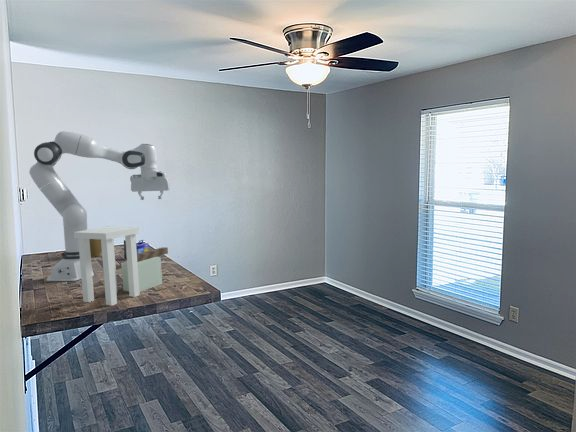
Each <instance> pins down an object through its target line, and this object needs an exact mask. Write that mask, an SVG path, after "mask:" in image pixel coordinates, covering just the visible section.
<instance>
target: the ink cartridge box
mask: <svg viewBox="0 0 576 432" xmlns="http://www.w3.org/2000/svg"><path fill="white" fill-rule="evenodd" d="M149 249H150V247H149V242H144V239H142V240H138V243H136V250H137V254H139V253H143V252H147V251H150V250H149Z"/></svg>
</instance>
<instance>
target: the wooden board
mask: <svg viewBox="0 0 576 432" xmlns="http://www.w3.org/2000/svg"><path fill="white" fill-rule="evenodd" d="M167 254H169V250H168V247H163V246H162V247H159V248H155V249H151V250H149V251H147V252H143V253H139V254H137V262H140V261H143V260H147V259H150V258H154V257H161V256H163V255H164V256H165V255H167Z"/></svg>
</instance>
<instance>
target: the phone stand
mask: <svg viewBox="0 0 576 432" xmlns="http://www.w3.org/2000/svg"><path fill="white" fill-rule="evenodd" d="M123 251H124V252H123V254H124V256H123V257H124V259H125V260H126V261H127V255H126V241H125V240H123Z"/></svg>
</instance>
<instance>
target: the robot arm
mask: <svg viewBox="0 0 576 432" xmlns="http://www.w3.org/2000/svg"><path fill="white" fill-rule="evenodd" d="M64 154H68V155H73V156H77V157H81V158H89V159H103V160H104V159H105V160H107V161H108V160H109V161H111V162H115V163H118V164H120V165H122V166H123V167H125V168H126V169H128V170H135V169H137V168H140V173H139V174H132V175H130V177H129V178H130V180H129V181H130V191H131V192H133V193H134V192H137V194H138V196H139V197H140V200H141V201H144V200H145V196H143V195H142V193H143V192H159V193H160V194H159V195H158V196H157V197H158V200H162V198H163V197H162V196H163V195H164V191H166V192H167V191H169V190H170V188H171V187H170V182H169V181H170V180H169V178H168V177H167V176H168V175H167V173H166V172H163V171H161V170H158V169H159V168H158V155H157V149H156V146H154V145H153V144H150V143H141V144H139V145H137V146H136V147H135V148H133V149H129V150H126V151H120V150H118V149H113V148H110V147H107V146H105V145H103V144H101V143H100V142H99V141H97V140H96V139H94V138H92V137H89V136H87V135H85V134H80V133H77V132H73V131H72V132H71V131H59V132H58V133H57V134H56V135H55V137H54V140H53V141H48V142H42V143H39V144H38V145H37V146H36V147H35V149H34V152H33V155H34V159H35V160H36V161H37V162H36V163H35V164H33V165H31V167H30V168H29V175H30V177H31V179H32V181H33V182H34V184H35V185H36V187H37V189H39V190H40V192H41V193H42V194H43V195H44V197H45V198H46V200H47V201H48V202H49V203H50V204H51V205H52V206H53V208H54V210H56V211H57V212H58V214H60V216H61V217H62V222H63V223H62V224H63V225H62V226H63V237H64V248H65V251H63V252H62V253H61V254H60V257H62V259H61V260H59V261H58V262H57V263H56V264H54V265H53V266H52V268H51V271H50V275H49V276H47V277H46V282H75V281H78V280H79V281H80V280H82V279H81V267H80V255H79V243H78V238H74V232H78V231H84V230H88V215H87V210H86V209H85V208H84V206H83V205H82V204H81V203H80V201H78V199H77V198H76V196H75V195H74V193H72V191H71V190H70V188H69V187H68V186H67V185H66V184H65V182H64V181H63V179H62V178H61V177H60V176H59V174H58V173H57V171H56V170H55V168H54V166H55V165H56V164H57V163H58V162H59V161H60V159H62V158H61V157H62V155H64ZM94 276H95V273H94V271H93V269H92V277H94Z"/></svg>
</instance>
